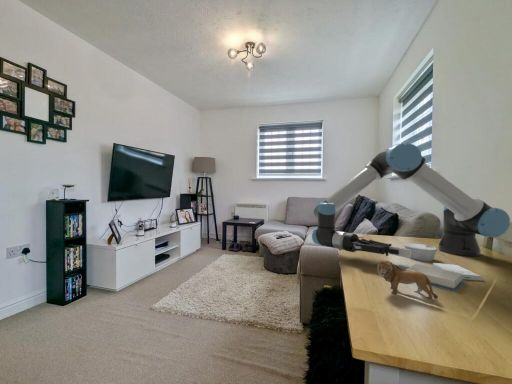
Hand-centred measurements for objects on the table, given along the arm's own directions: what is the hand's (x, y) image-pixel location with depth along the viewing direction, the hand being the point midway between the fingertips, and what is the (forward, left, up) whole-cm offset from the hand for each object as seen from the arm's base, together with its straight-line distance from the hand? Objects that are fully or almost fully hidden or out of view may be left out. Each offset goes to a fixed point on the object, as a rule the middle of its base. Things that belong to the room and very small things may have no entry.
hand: (410, 253), depth 81 cm
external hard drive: (-15, +7, -7) cm, 18 cm away
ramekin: (-25, -9, -8) cm, 28 cm away
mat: (-1, +4, -7) cm, 8 cm away
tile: (0, 0, -5) cm, 6 cm away
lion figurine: (+17, +7, -7) cm, 20 cm away
